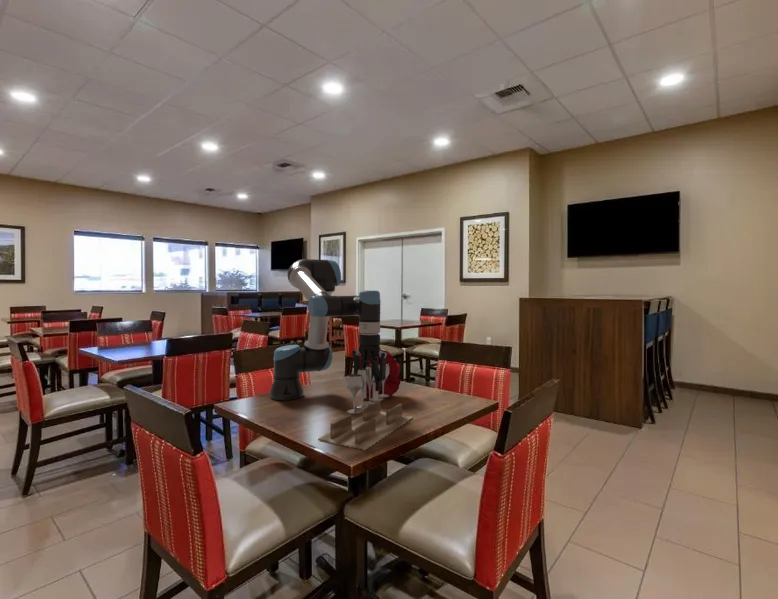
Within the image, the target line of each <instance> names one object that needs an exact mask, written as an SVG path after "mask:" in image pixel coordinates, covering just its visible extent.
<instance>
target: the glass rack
mask: <svg viewBox="0 0 778 599" xmlns="http://www.w3.org/2000/svg"><path fill="white" fill-rule="evenodd" d="M374 402H375V404H371V405H368V404H366V406H368V408H365V409H363V415H360V416H359V417H357V418H354V419H353V418H352V415H353V414H347V415H344V416H343V417H340V418H338V419H337V420H335V421H332V422H330V424H329V425H330V428H329V429H330V432H328V433H326V434H324V435H322V436H319V437H318V438H317V441H318V440H320V441H319V442H323V441H325V442H324V443H328V442H329V443H328V444H332V443H334V445H337V444H339V445H338V446H341V445H344V446H343V447H346V446H349V447H348V448H351V447H353V448H352V449H355V448H357V449H356V450H360V449H362V450H361V451H367V450H369V449H370V448H371V447H373V446H374V445H376V444H377V443H378V442H380V441H382V440H383V439H385V438H386V437H387V436H389V435H390V434H392V433H393V432H395V431H396V430H398V429H399V428H401V427H402V426H403V424H404V425H405V424H407V423H408V422H410V421H411V420H413V419H414V417H413V416H409V415H403V403H398V404H395V405H394V406H392V407H390V408H389V409H387V410H386V412H385V411H381V401H374ZM412 418H413V419H412ZM410 419H411V420H410ZM409 420H410V421H409ZM407 421H408V422H407ZM406 422H407V423H406ZM400 426H401V427H400ZM397 428H398V429H397ZM394 430H395V431H394ZM391 432H392V433H391ZM388 434H389V435H388ZM385 436H386V437H385ZM382 438H383V439H382ZM379 440H380V441H379ZM376 442H377V443H376ZM372 445H373V446H372ZM369 447H370V448H369ZM366 449H367V450H366Z"/></svg>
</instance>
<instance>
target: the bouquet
mask: <svg viewBox="0 0 778 599" xmlns="http://www.w3.org/2000/svg"><path fill="white" fill-rule="evenodd" d="M381 351H383V352H387V353H388V355H387V357H386V364H388V365H389V375H388V377H387V378H386V380H385V382H384V394H387V395H389V396H388V397H392V396H393V395H394V394H395V393H396V392H398V390H399V389H400V385H401V379H400V373H401V368H400V366H401V365H400V363H399V362H397V361H396V360H397V359H395V358H394V356H393V355H392V354H391V352H389V351H388V350H386V349H385V350H384V349H381ZM379 356H380V354H379V355H378V363H380V357H379ZM361 357H362V356H361V354H360V366H361ZM370 364H371V362H370V360H368V362H367V366H368V365H370ZM373 382H374V380H373ZM373 382H372V385H371V390H370V399H371V398H373ZM379 394H383V387H382V381H381V382H380V391H378V395H379ZM366 398H369V386H368V383H367V382H366ZM379 398H381V397H379Z"/></svg>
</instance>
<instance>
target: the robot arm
mask: <svg viewBox="0 0 778 599" xmlns="http://www.w3.org/2000/svg"><path fill="white" fill-rule="evenodd" d="M287 279H288V280H287V281H288V282H289V283H290V285H291V286H292V287H293V288H296V289H298V290H299V291H300V293H301V294H302V296H304V298H305V299H306V301H308V302H307V311H308V313H309V316H310V317H309V324H308V337H307V340H306V341H304V344H303V347H301V346H300V345H298V344H289V345H288V344H287V345H284V346H280V347H277V348H276V349H275V350H274V351H273V358H272V359H273V383H272V385H271V388H270V391H269V398H270V399H271V400H275V401H293V400H298V399H301V398H303V397H304V389H303V386H302V383H301V380H300V378H301V377H300V374H301V373H310V372H311V373H312V372H321V371H326V370H328V369H329V368H330V366H331V364H332V362H333V350H332V347H331V346H330V344H329V342H327V337H328V336H327V335H328V327H329V317H358V331H359V336H358V343H359V346H358V348H357V349H355V350H352V351H351V355H352V358H353V374H357V373H358V369H365V366H367V362H368V360H370V362H371V364H372V368H373V374H374V379H375V381H374V382H373V402H376V400H378V391H380V382H381V381H383V380H385V379H386V357H387V355H388V353H387V352H383V351H381V350H382V349H381V346H380V345H381V335H380V333H381V301H382V300H381V293H380V291H379V290H360V291H359V293H358V295H332V293H334V292H335V291H336V287H337V286H340V284H341V281H342V272H341V268H340V265H339V263H337V262H336V261H335V260H332V259H331V260H330V259H311V258H310V259H309V258H302V259H298V260H296V261H294V262H293V263H292V264H291V265H290V266H289V268H288V271H287ZM379 354H380V356H379V357H380V369H379V366H378V355H379ZM360 355H361V356H362V357H361V366H360ZM302 396H303V397H302ZM300 397H301V398H300ZM292 399H293V400H292ZM364 399H367V396H366V384H365V387H364V390H363V400H364ZM360 400H362V392H361V391H360Z"/></svg>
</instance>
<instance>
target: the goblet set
mask: <svg viewBox="0 0 778 599" xmlns="http://www.w3.org/2000/svg"><path fill="white" fill-rule="evenodd" d="M378 366H379V369H380V363H378ZM388 375H389V365H388V364H386V378H387V377H388ZM373 380H374V381H375V379H374V374H373V368H372V364H370V365H368V366H365V369H358V373H357V374H354V373H351V374H347V376H346V379H345V387H346V389H348V390H349V392H350V393H351V394H352V397H353V408H352V409H348V410H347V411H346V412H347V413H348V414H352V415H353V414H360V413H361V412H362V409H363V410H364V409H365V408H368V406H367V405H371V404H375V402H376V401H380V402H381V401H383V400H384V398H387V397H388V398H389V397H390V396H389V395H387V394H384V382H385V380H386V379H385V380H383V381H382V387H383V394H379V395H378V400H376V401H373V398H370V390H371V385H372V382H373ZM366 382H367V383H368V386H369V399H368V400H369V401H365V402H364V399H363V390H364V387H365V384H366ZM359 391H360V393H361V392H362V399H361V404H360V405H357V406H356V397H357V396H356V395H357V394H358V392H359ZM379 397H380V398H379ZM363 402H364V403H363ZM364 404H365V405H364Z"/></svg>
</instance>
